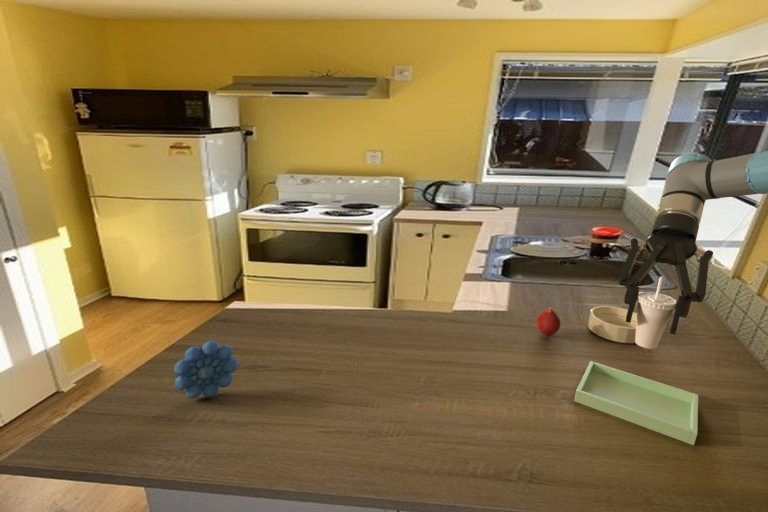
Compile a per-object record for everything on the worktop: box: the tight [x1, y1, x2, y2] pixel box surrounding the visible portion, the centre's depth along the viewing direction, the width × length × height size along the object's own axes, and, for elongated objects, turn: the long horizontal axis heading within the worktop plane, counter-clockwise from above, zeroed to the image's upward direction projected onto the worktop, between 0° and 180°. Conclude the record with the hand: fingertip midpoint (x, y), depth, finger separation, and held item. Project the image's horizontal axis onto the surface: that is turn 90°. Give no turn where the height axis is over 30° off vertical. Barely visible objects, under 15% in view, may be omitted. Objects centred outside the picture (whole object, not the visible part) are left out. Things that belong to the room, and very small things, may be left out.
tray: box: [573, 360, 699, 446], centre depth 83 cm, size 20×14×2 cm
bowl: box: [587, 305, 637, 344], centre depth 112 cm, size 13×13×4 cm
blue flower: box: [173, 340, 239, 400], centre depth 81 cm, size 12×7×12 cm, turn 106°
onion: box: [535, 307, 561, 338], centre depth 108 cm, size 6×6×8 cm
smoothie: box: [634, 276, 678, 350], centre depth 80 cm, size 6×6×14 cm
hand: (650, 325), depth 77 cm, fingers closed on smoothie, 6 cm apart
